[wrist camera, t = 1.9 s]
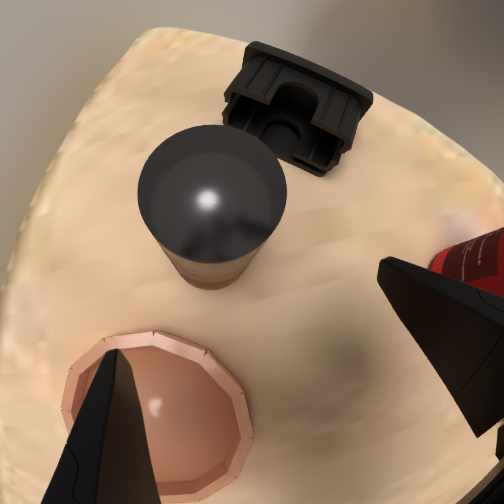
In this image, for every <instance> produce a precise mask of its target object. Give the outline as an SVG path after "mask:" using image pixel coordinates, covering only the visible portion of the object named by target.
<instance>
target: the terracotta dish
mask: <svg viewBox="0 0 504 504" xmlns="http://www.w3.org/2000/svg"><path fill="white" fill-rule="evenodd" d="M115 348H118V349H120V350H121V352H122V353H123V355H124V356H125V357H126V359H127V360H128V361H129V363H130V365H131V367H132V371H133V375H134V380H135V384H136V388H137V392H138V396H139V400H140V404H141V408H142V413H143V419H144V425H145V431H146V437H147V442H148V448H149V453H150V458H151V462H152V467H153V472H154V476H155V480H156V485H157V489H158V493H159V496H160V500H161V504H166V503H184V502H196V501H200V500H204V499H205V498H207V497H209V496H210V495H212V494H214V493H215V492H217V491H218V490H220V489H221V488H223V487H225V486H226V485H228V484H229V483H231V482H232V481H234V480H235V479H237V478H236V477H238V476H239V474H240V471H241V469H242V467H243V465H244V462H245V460H246V458H247V455H248V453H249V450H250V448H251V446H252V443H253V441H254V439H253V438H254V435H253V430H252V426H251V422H250V417H249V413H248V408H247V404H246V399H245V395H244V392H243V390H242V388H241V386H240V384H239V383H238V382H237V381H236V380H235V379H234V378H233V376H232V375H231V374H230V373H229V372H228V371H227V369H226V368H225V367H224V366H223V365H222V364H221V363H220V362H219V361H218V360H217V359H216V358H215V357H214V356H213V355H212V354H211V352H210V351H209V350H205V349H206V348H205V347H202V346H199V345H196V344H194V343H192V342H190V341H187V340H185V339H183V338H180V337H176V336H173V335H170V334H168V333H165V332H163V331H158V330H156V331H149V332H141V333H134V334H126V335H117V336H111V337H105V338H103V339H101V340H100V341H99V342H98V343H97V344H95V345H94V346H93V347H92V348H91V349H90V350H88V351H87V352H86V353H85V354H84V355H83V356H82V357H80V358H79V359H78V360H77V361H76V362H75V363H74V364H73V365H71V368H69V372H68V376H67V381H66V385H65V390H64V394H63V399H62V404H61V408H62V410H61V412H62V415H63V418H64V422H65V425H66V428H67V431H68V434H70V432H71V429H72V426H73V424H74V422H75V419H76V417H77V414H78V412H79V409H80V407H81V405H82V402H83V400H84V398H85V395H86V393H87V391H88V389H89V386H90V384H91V382H92V380H93V378H94V375H95V373H96V371H97V369H98V367H99V365H100V363H101V360H102V358H103V356H104V354H105V352H106V351H108V350H111V349H115Z"/></svg>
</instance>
